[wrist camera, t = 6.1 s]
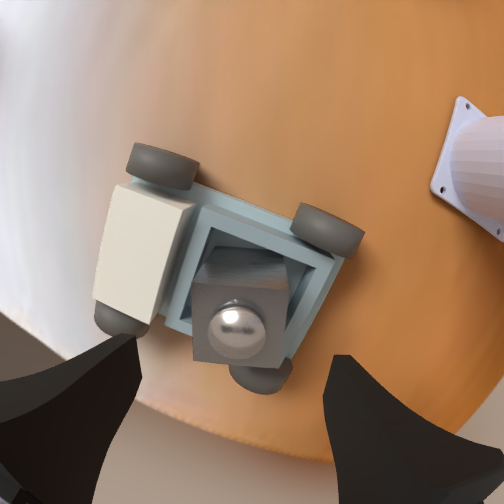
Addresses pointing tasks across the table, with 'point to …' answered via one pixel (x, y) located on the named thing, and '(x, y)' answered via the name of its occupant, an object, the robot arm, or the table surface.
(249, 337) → the grey block with knob
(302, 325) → the chassis
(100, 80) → the table surface
